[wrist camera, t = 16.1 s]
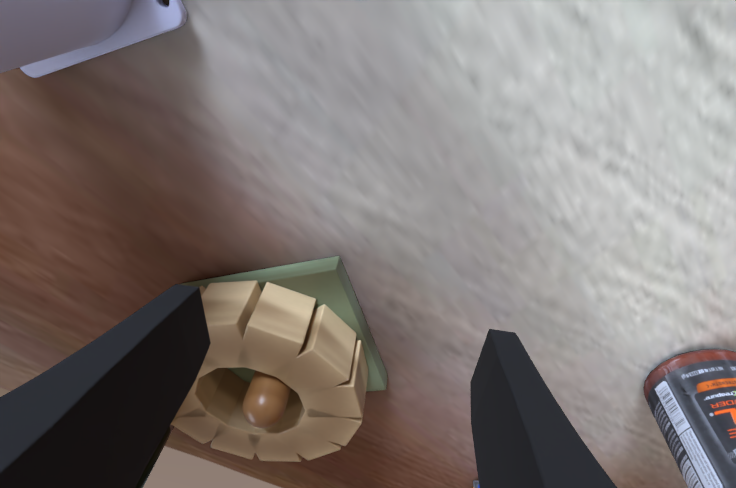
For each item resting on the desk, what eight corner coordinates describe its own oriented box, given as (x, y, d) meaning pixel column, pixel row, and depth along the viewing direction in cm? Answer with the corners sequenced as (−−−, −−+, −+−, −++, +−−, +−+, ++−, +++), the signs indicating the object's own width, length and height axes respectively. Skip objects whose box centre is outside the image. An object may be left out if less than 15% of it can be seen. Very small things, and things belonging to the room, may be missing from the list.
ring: (145, 263, 22) (110, 304, 20) (380, 298, 22) (374, 344, 20) (182, 401, 30) (160, 445, 27) (359, 429, 30) (353, 476, 27)
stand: (180, 283, 25) (117, 371, 20) (339, 254, 22) (315, 346, 17) (252, 387, 30) (218, 478, 25) (387, 374, 28) (379, 471, 22)
